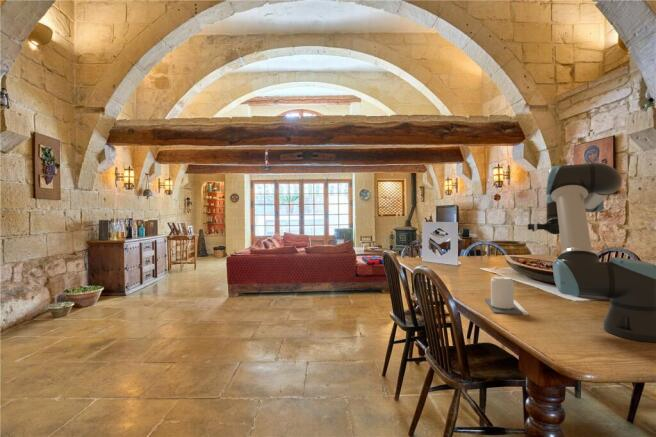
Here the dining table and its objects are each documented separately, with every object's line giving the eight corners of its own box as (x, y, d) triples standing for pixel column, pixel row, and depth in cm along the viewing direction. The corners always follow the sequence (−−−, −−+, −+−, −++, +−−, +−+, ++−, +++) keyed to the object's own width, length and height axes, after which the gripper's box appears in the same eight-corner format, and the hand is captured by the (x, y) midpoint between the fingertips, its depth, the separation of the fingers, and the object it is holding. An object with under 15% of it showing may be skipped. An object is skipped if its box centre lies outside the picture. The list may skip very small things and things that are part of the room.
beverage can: (493, 309, 131) (493, 279, 130) (489, 303, 138) (488, 275, 138) (516, 310, 129) (516, 279, 128) (510, 304, 136) (510, 275, 136)
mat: (528, 315, 125) (528, 313, 125) (493, 313, 128) (493, 311, 128) (514, 301, 144) (514, 299, 144) (484, 299, 147) (484, 298, 147)
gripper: (588, 234, 150) (591, 237, 133) (524, 233, 165) (520, 236, 148) (588, 217, 150) (591, 218, 133) (524, 218, 165) (520, 219, 148)
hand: (554, 228), depth 140 cm, fingers open, 13 cm apart
